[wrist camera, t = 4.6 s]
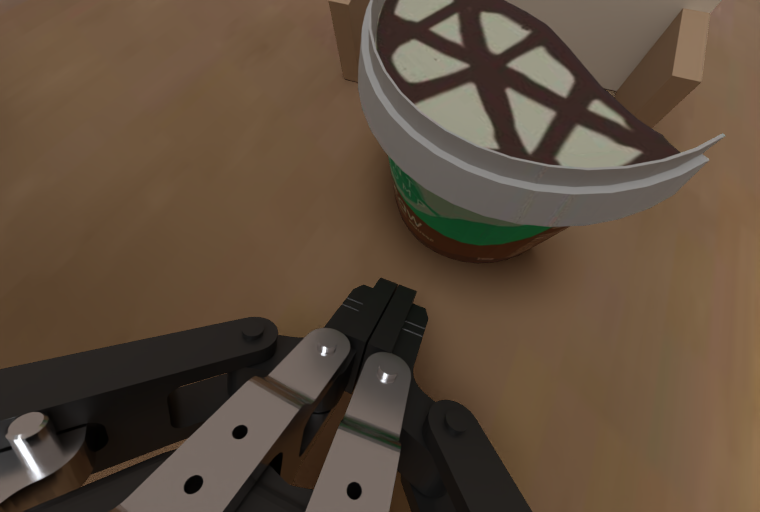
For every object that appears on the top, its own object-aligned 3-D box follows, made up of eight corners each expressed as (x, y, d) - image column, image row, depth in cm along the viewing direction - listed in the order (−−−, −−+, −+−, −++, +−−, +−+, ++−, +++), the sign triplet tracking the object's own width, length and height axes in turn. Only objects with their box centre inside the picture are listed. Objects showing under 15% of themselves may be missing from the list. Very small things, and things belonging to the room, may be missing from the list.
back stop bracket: (343, 78, 22) (324, -21, 16) (376, 18, 24) (369, -91, 18) (625, 152, 19) (723, 61, 13) (640, 77, 20) (733, -33, 15)
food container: (337, 163, 20) (279, -20, 10) (419, 117, 20) (434, -94, 11) (456, 333, 16) (538, 293, 7) (551, 269, 17) (746, 150, 7)
